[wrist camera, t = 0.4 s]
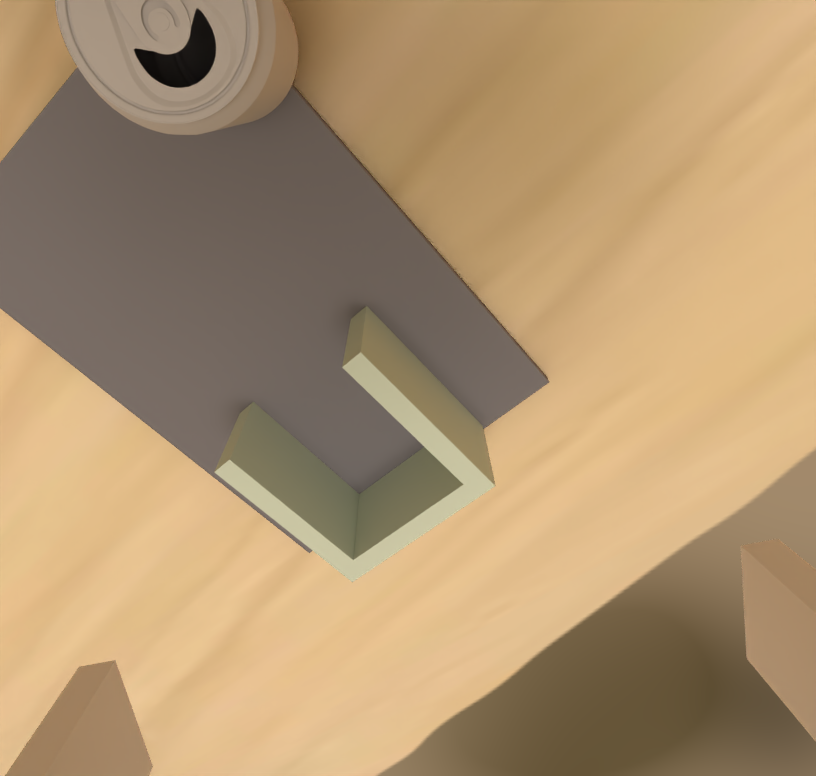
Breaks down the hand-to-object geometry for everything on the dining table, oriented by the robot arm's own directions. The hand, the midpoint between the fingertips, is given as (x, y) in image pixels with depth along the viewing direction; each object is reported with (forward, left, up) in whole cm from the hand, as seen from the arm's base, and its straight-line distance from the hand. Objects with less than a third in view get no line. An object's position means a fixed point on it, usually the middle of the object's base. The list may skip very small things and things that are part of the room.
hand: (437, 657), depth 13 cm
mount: (+8, -4, -25) cm, 26 cm away
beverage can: (-1, -14, -24) cm, 28 cm away
